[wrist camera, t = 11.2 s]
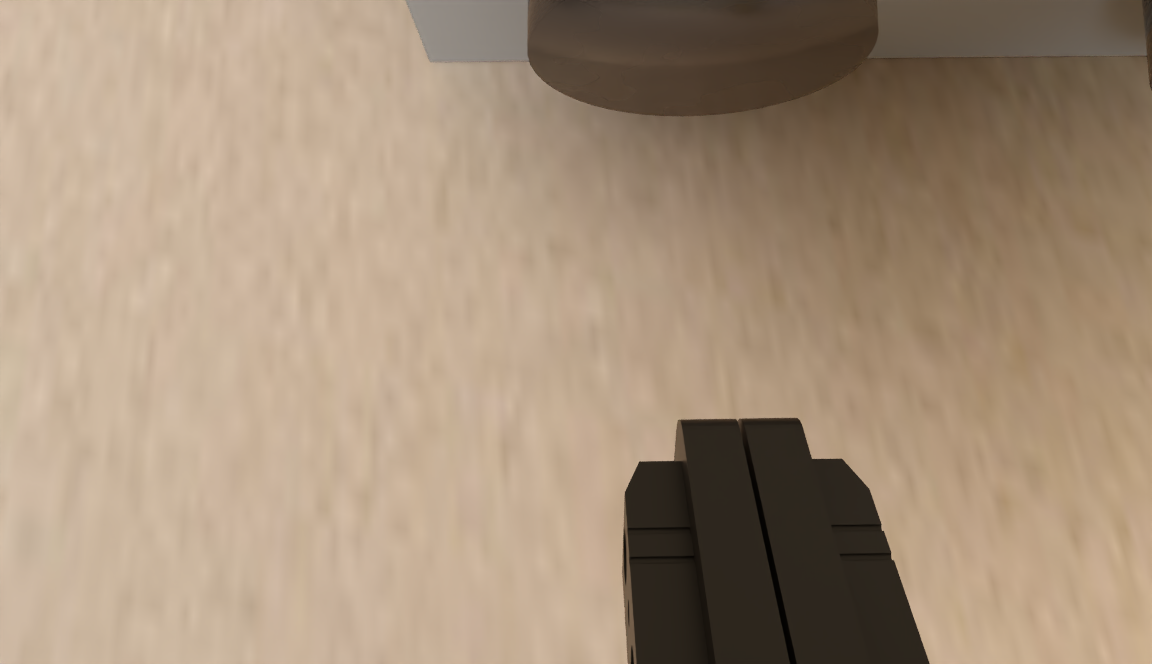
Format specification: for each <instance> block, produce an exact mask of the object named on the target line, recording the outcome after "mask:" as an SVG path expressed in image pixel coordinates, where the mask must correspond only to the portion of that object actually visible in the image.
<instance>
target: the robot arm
mask: <svg viewBox="0 0 1152 664" xmlns="http://www.w3.org/2000/svg"><path fill="white" fill-rule="evenodd" d="M622 575H623V591H624V607H625V624H626V637H627V657H628V664H929V661H928V658H927V655H926V652H925V649H924V646H923V643H922V641H921V638H920V635H919V632H918V629H917V626H916V623H915V620H914V617H913V614H912V612H911V609H910V606H909V603H908V600H907V597H906V594H905V591H904V588H903V585H902V583H901V580H900V577H899V574H898V571H897V568H896V565H895V562H894V560H892V559H891V551H890V548H889V545H888V542H887V539H886V536H885V533H884V531H882V530H881V522H880V519H879V516H878V513H877V510H876V507H875V504H874V501H873V498H872V495H871V493H870V490H869V488H868V487H867V486H866V485H865V484H864V483H863V482H862V480H861V479H860V478H859V477H858V476H857V475H856V474H855V473H854V472H853V470H852V469H851V468H850V467H849V466H848V465H847V464H846V463H845V461H844V460H843V459H812V458H811V454H810V451H809V448H808V444H807V441H806V437H805V434H804V430H803V427H802V424H801V422H800V420H799V419H798V418H754V419H739V420H738V421H737V420H736V419H696V420H678V423H677V430H676V443H675V456H674V461H651V462H639V464H638V466H637V468H636V470H635V472H634V474H633V476H632V479H631V481H630V483H629V485H628V487H627V489H626V491H625V504H624V535H623V566H622Z"/></svg>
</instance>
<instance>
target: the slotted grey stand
mask: <svg viewBox="0 0 1152 664" xmlns="http://www.w3.org/2000/svg"><path fill="white" fill-rule="evenodd" d="M406 2H407V5H408V7H409V10H410V12H411V15H412V18H413V20H414V23H415V25H416V28H417V30H418V33H419V35H420V38H421V40H422V43H423V46H424V48H425V51H426V53H427V56H428V58H429V61H430V62H487V61H529V58H528V55H527V34H528V0H406ZM877 8H878V28H879V33H878V37H877V42H876V44H875V46H874V48H873V50H872V52H871V53H870V54H869V55H868V57H867V58H935V57H1047V56H1147V50H1146V39H1145V28H1144V17H1143V6H1142V0H877Z"/></svg>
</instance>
